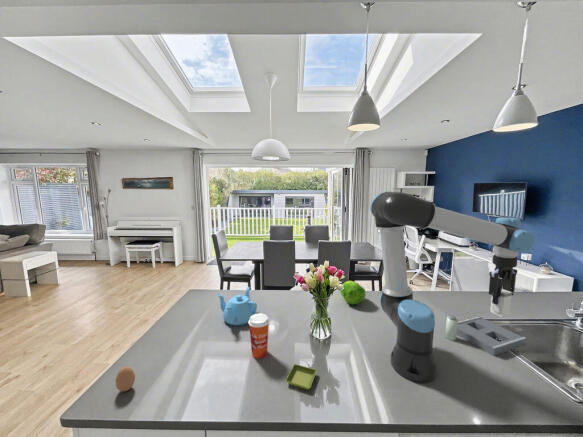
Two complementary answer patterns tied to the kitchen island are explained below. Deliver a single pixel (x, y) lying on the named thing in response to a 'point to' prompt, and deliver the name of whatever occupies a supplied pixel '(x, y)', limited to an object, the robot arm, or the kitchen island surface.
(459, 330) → the grey socket board
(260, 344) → the coffee cup
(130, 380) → the egg
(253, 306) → the teapot
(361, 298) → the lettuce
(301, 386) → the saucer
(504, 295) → the block
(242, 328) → the kitchen island surface
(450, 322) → the peg
